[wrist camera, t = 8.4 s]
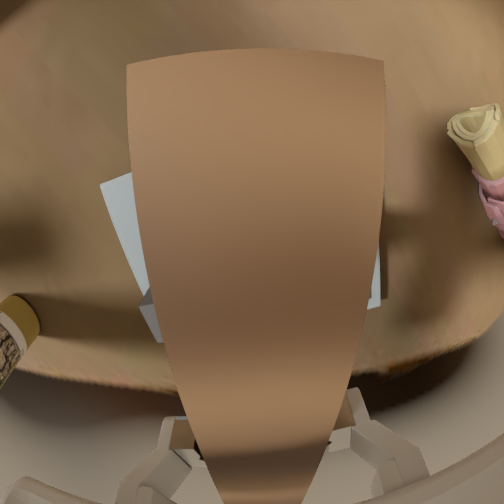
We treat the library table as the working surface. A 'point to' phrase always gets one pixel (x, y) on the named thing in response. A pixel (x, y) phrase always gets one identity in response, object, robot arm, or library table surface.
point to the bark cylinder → (15, 333)
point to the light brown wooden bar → (259, 246)
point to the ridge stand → (126, 226)
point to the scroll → (484, 154)
